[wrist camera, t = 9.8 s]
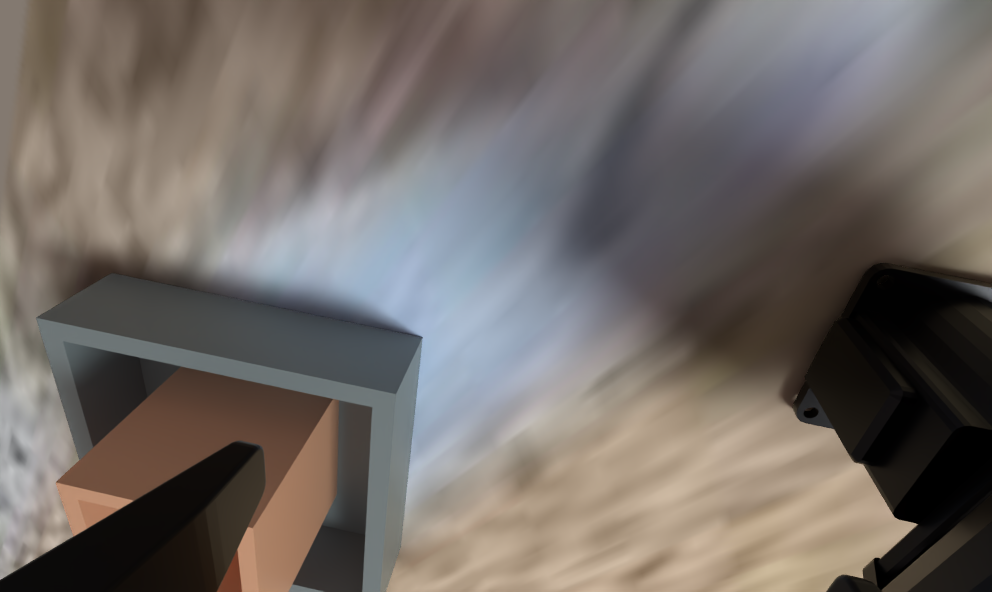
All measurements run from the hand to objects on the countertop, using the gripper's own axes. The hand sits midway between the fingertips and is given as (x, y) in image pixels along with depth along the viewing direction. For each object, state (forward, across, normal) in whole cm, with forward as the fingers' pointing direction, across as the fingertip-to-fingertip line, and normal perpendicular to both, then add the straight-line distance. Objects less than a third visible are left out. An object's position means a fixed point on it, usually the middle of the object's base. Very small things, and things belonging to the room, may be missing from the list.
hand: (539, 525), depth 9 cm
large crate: (+12, +11, +12) cm, 21 cm away
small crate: (+12, +11, +12) cm, 20 cm away
